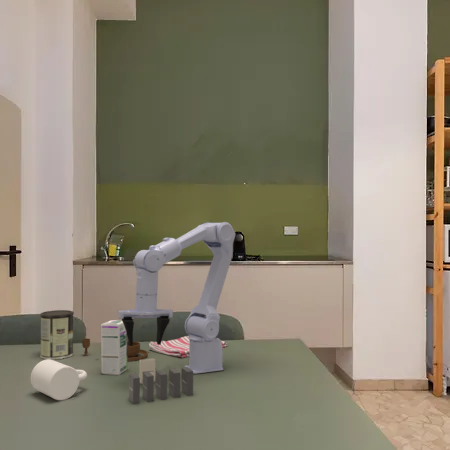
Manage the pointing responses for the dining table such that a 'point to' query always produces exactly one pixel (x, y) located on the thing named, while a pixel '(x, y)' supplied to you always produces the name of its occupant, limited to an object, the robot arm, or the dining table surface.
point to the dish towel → (175, 347)
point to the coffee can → (56, 334)
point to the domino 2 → (146, 368)
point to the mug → (56, 379)
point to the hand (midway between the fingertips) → (144, 344)
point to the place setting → (131, 350)
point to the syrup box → (113, 347)
